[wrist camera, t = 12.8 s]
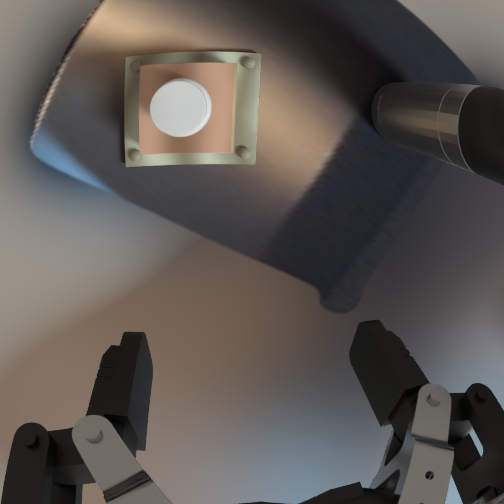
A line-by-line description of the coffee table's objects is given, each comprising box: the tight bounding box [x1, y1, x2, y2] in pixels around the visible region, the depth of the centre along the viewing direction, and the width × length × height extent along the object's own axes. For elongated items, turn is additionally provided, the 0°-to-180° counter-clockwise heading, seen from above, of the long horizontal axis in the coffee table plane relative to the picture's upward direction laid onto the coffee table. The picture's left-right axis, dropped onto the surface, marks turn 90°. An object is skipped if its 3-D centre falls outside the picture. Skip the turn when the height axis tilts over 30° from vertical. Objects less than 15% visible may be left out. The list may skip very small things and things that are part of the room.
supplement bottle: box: [150, 78, 212, 137], centre depth 22 cm, size 5×5×8 cm
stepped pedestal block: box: [124, 52, 261, 167], centre depth 30 cm, size 16×14×8 cm
